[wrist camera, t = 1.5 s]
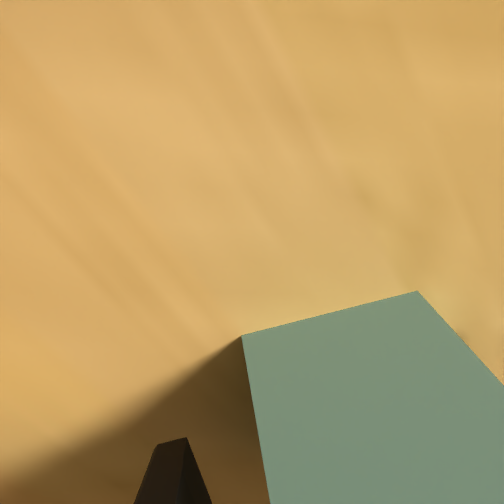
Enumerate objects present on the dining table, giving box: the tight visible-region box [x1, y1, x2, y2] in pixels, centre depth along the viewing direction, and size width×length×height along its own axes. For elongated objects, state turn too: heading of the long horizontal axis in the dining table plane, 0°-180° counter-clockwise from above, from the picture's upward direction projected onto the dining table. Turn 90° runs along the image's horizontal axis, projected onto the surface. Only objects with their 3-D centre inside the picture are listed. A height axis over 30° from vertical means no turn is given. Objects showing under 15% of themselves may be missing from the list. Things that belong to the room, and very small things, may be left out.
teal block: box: [241, 291, 504, 504], centre depth 9 cm, size 4×4×5 cm
